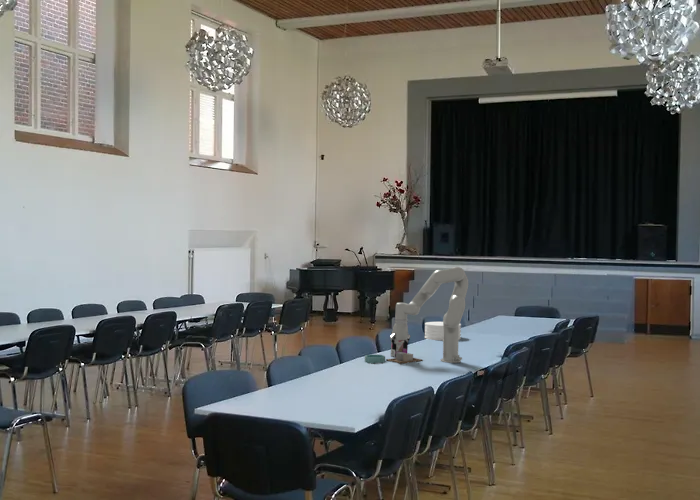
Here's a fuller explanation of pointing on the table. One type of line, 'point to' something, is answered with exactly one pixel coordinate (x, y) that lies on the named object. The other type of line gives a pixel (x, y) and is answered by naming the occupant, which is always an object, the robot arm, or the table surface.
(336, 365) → the table surface
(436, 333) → the plate stack
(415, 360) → the tray
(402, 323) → the robot arm
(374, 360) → the bowl
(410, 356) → the beige square block
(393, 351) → the candy bar box
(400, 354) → the light grey cube
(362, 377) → the table surface
